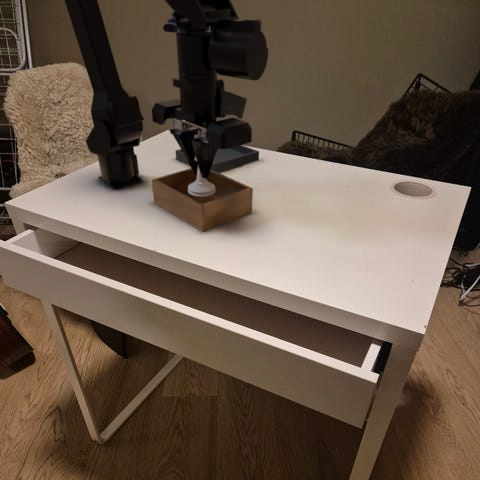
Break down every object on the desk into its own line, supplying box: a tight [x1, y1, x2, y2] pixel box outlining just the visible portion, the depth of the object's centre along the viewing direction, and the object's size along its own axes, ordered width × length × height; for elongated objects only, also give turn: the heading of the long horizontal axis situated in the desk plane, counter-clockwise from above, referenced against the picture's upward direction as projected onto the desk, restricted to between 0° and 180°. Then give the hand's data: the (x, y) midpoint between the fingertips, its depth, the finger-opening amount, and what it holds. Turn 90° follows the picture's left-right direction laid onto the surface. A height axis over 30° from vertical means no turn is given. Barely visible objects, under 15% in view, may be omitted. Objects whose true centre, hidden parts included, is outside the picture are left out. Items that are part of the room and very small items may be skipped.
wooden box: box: [151, 167, 254, 232], centre depth 73 cm, size 11×14×4 cm
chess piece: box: [188, 130, 216, 197], centre depth 70 cm, size 5×5×10 cm
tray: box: [175, 144, 260, 173], centre depth 93 cm, size 14×12×2 cm
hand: (201, 175), depth 71 cm, fingers closed on chess piece
